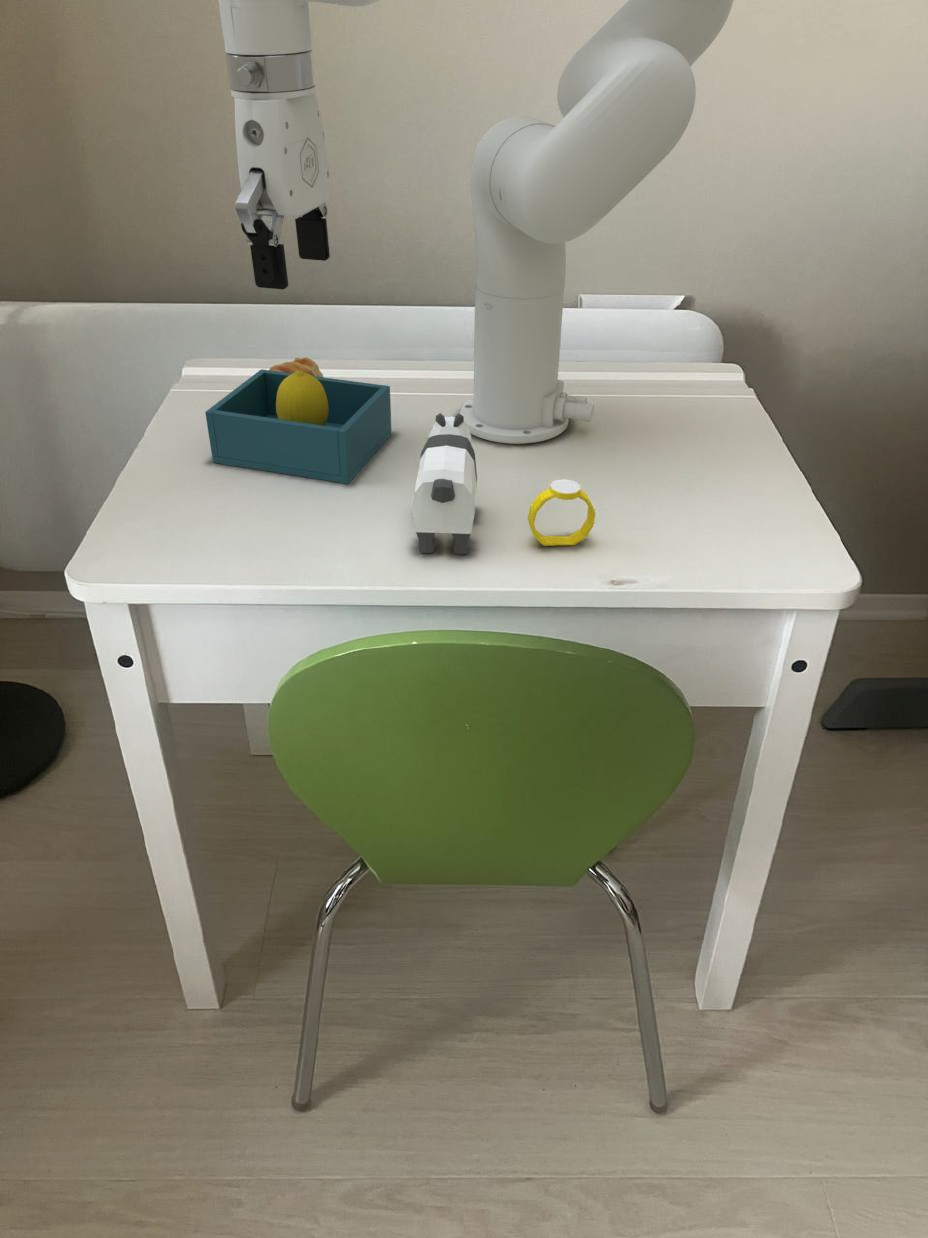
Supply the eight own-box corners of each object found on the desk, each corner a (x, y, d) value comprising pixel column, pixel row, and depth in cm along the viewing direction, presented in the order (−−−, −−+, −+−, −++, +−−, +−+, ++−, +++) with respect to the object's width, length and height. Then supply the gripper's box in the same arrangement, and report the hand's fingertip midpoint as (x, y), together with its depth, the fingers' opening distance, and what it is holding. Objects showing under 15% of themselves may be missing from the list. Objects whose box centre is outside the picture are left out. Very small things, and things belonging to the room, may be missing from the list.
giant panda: (473, 562, 87) (474, 466, 82) (412, 560, 88) (409, 464, 82) (478, 486, 99) (480, 398, 94) (424, 484, 100) (423, 396, 94)
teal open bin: (391, 434, 109) (390, 385, 106) (348, 484, 100) (344, 431, 96) (266, 416, 113) (261, 368, 110) (212, 462, 103) (204, 411, 100)
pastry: (272, 415, 113) (269, 384, 111) (236, 400, 117) (231, 370, 115) (331, 392, 119) (329, 362, 117) (295, 378, 123) (292, 349, 120)
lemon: (321, 454, 103) (315, 382, 99) (272, 449, 104) (264, 378, 99) (337, 433, 108) (332, 363, 103) (290, 428, 108) (283, 359, 104)
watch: (530, 552, 89) (533, 495, 85) (524, 537, 91) (527, 480, 88) (594, 548, 90) (599, 491, 86) (586, 533, 92) (592, 477, 88)
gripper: (266, 90, 78) (291, 303, 88) (348, 64, 91) (362, 251, 101) (183, 87, 80) (217, 296, 90) (276, 62, 93) (296, 246, 103)
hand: (294, 272), depth 96 cm, fingers open, 9 cm apart
